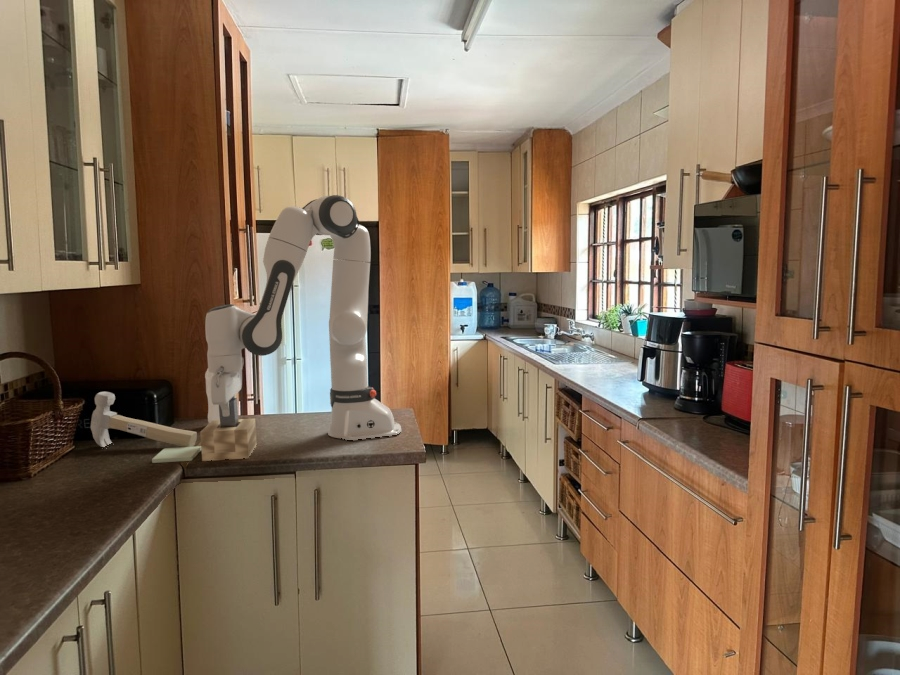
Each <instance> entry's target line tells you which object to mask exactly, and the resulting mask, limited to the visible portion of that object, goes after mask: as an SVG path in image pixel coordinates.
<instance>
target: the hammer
mask: <svg viewBox="0 0 900 675" xmlns="http://www.w3.org/2000/svg"><path fill="white" fill-rule="evenodd" d="M115 400H116V396H115V393H113V392H110V391H100V392H98V393H96V394H95V396H94V404H95V406H96V407H95V409H94V410H93V411H92V414H91V419H90V420H91V421H90V431H91V433H92V438H93V439H94V442H95V443H96V444H97V445H98V446H100V447H105V446H107V445H109V444H111V443H113V442H112V440H111V439H110V434H109V429H114V430H118V431H119V430H120V431H123V432H127V433H129V434H133V435H137V436H140V437H144V438H146V439H150V440H154V441H155V442H156V441H158V442H162V443H167V444H171V445H174V446H178V447H194V446H195V445H196V441H197V438H198V433H197V431H193V430H185V429H180V428H175V427H170V426H167V425H162V424H160V423H159V424H158V423H155V422H150V421H146V420H142V419H138V418H137V419H135V418H131V417H126V416H123V415H121V414H118V412H116V411H111V409H110V407H111V406H112V405H114V403H115Z"/></svg>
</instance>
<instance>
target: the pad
mask: <svg viewBox="0 0 900 675" xmlns="http://www.w3.org/2000/svg"><path fill="white" fill-rule="evenodd" d="M200 452H202V451H201V445H197V446H195V445H194V446H193V447H181V446H178V447H164V448H163V449H162V450H161V451H159V452H158V453H157V454H156V455H155V456H154V457H152V459H151V463H152V464H155V463H156V464H157V463H159V464H160V463H172V462H175V463H176V462H188V461H190V462H191V461H193V459H194V458H195V457H196V456H197V455H198V454H199V453H200Z"/></svg>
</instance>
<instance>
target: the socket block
mask: <svg viewBox="0 0 900 675" xmlns="http://www.w3.org/2000/svg"><path fill="white" fill-rule="evenodd" d="M238 421H239V425H238V426H237V427H226V428H220V420H215V421H211V422H210V423H209V422H208V423H207V425H206V426H204V427H203V429H201V431H199V433H200V434H199V435H200V446H201V451H200V452H201V461H202V462H207V461H211V460H212V461H226V460H225V459H229V460H241V459H243V458H245V459H250V457H249V456H251V455H252V454H253V452H254V451H253V450H255V449H256V448H257V446H256V445H257V428H256V426H257V424H256V418H238ZM254 448H255V449H254ZM251 453H252V454H251Z"/></svg>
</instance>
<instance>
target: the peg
mask: <svg viewBox="0 0 900 675" xmlns="http://www.w3.org/2000/svg"><path fill="white" fill-rule="evenodd" d="M229 409H230V415H229V416H226V417H224V416H223V415H222V409H221V406H220V405H219V416H220V428H226V427H237V426H238V425H239V421H238V419H239V410H238V409H239V408H238V397H235V398H231V399H230V400H229Z"/></svg>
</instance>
